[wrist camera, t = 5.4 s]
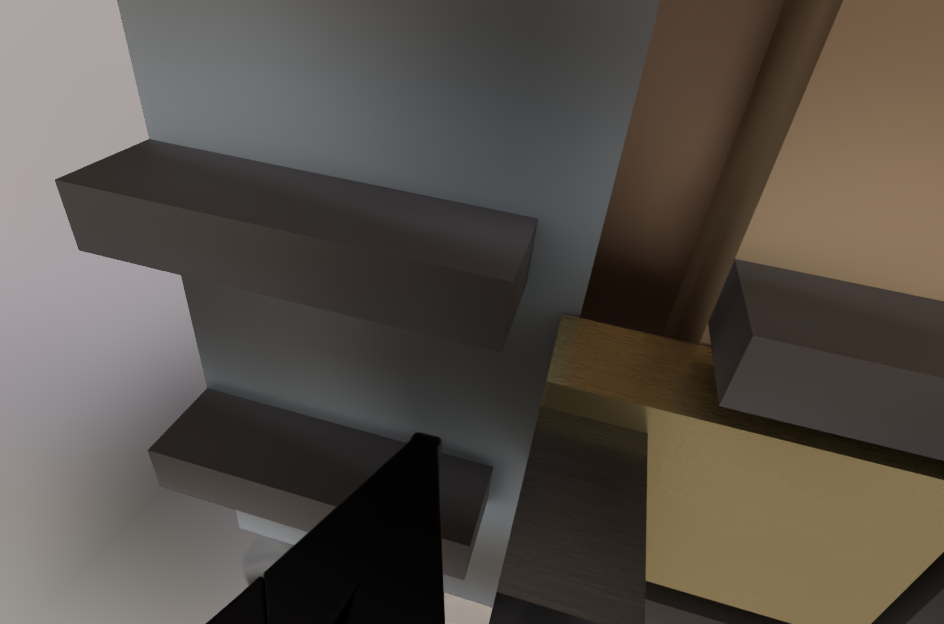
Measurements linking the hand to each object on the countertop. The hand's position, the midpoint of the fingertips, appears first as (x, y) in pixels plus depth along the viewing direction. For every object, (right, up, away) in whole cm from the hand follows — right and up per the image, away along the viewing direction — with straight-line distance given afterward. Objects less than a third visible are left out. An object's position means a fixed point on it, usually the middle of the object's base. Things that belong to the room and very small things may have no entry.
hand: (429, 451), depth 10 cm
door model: (+4, +3, +5) cm, 7 cm away
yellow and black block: (+5, 0, +1) cm, 5 cm away
